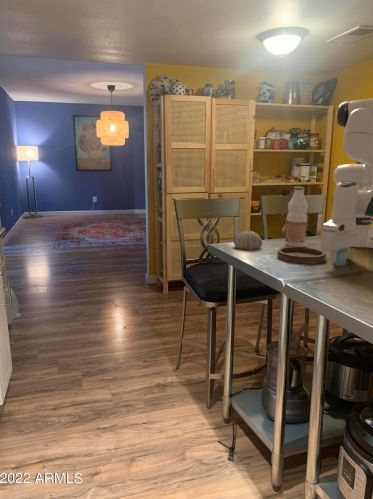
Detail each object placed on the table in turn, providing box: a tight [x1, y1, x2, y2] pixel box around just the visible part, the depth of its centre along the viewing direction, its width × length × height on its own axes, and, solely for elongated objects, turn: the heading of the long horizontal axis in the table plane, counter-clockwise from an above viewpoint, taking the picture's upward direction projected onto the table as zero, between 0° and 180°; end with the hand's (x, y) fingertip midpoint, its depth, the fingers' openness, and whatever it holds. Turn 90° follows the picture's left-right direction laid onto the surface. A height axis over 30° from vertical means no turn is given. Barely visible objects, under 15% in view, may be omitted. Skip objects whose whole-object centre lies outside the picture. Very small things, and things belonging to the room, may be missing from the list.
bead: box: [331, 249, 347, 267], centre depth 150 cm, size 5×5×6 cm
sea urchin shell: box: [233, 230, 264, 251], centre depth 178 cm, size 13×14×8 cm
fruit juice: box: [284, 186, 309, 247], centre depth 182 cm, size 9×9×28 cm
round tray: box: [276, 246, 327, 265], centre depth 160 cm, size 19×19×3 cm
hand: (339, 259), depth 150 cm, fingers closed on bead, 5 cm apart
